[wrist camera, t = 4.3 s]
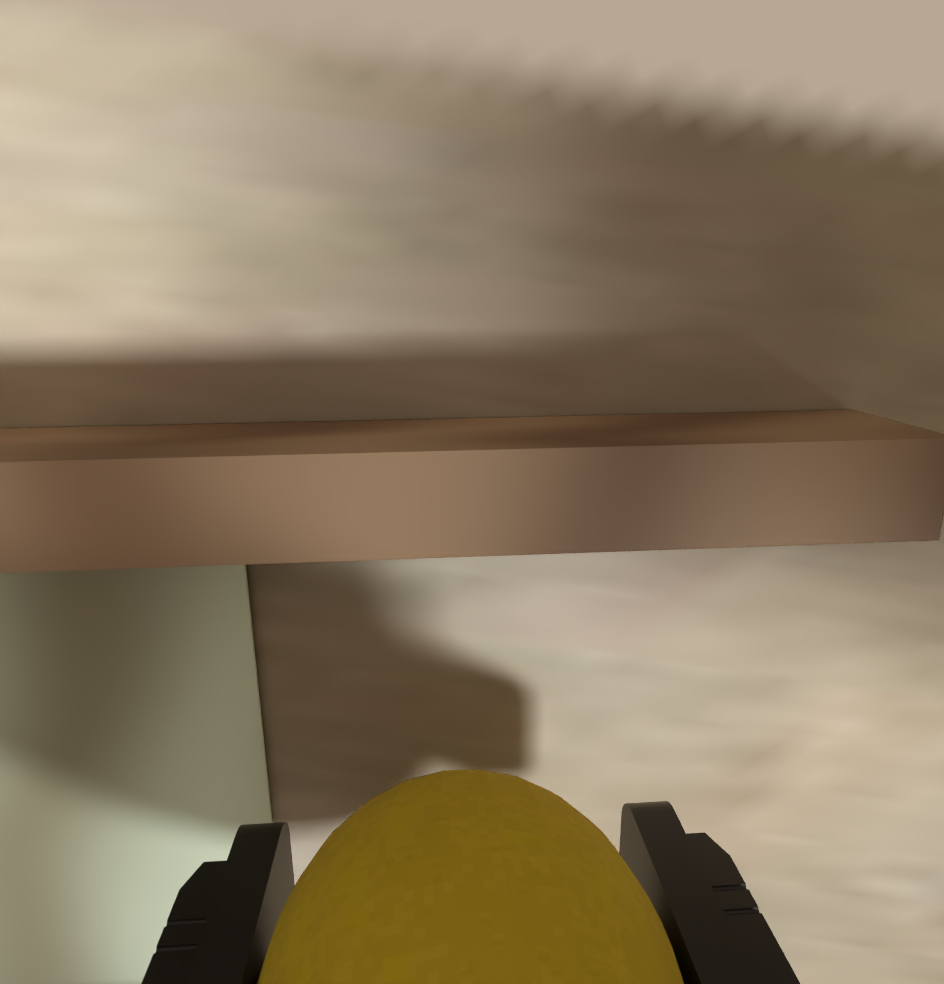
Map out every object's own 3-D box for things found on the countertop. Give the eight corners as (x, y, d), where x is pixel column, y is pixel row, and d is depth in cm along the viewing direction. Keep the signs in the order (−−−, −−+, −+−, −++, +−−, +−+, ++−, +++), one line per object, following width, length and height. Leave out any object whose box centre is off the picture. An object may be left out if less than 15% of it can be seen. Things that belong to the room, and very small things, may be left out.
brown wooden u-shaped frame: (851, 409, 12) (985, 445, 9) (766, 1023, 16) (843, 1184, 13) (-542, 439, 11) (-897, 493, 8) (-269, 1108, 14) (-440, 1310, 12)
